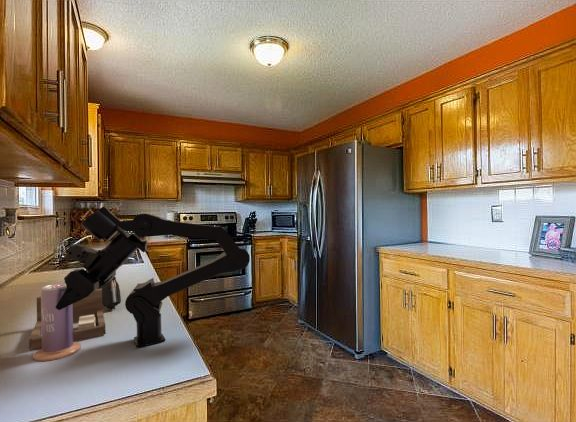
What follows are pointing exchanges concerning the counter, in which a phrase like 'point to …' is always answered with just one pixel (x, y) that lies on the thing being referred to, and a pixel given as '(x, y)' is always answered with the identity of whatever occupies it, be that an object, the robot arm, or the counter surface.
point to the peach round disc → (48, 357)
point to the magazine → (111, 293)
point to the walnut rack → (75, 320)
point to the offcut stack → (86, 321)
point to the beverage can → (55, 320)
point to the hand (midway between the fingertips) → (66, 303)
